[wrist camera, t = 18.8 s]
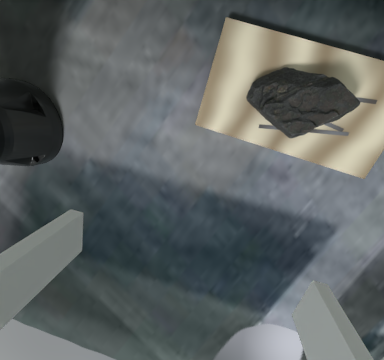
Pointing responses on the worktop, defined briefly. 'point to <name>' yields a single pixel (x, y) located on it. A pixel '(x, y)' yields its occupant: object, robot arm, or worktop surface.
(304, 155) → the board
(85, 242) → the worktop surface
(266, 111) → the rock
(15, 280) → the robot arm
